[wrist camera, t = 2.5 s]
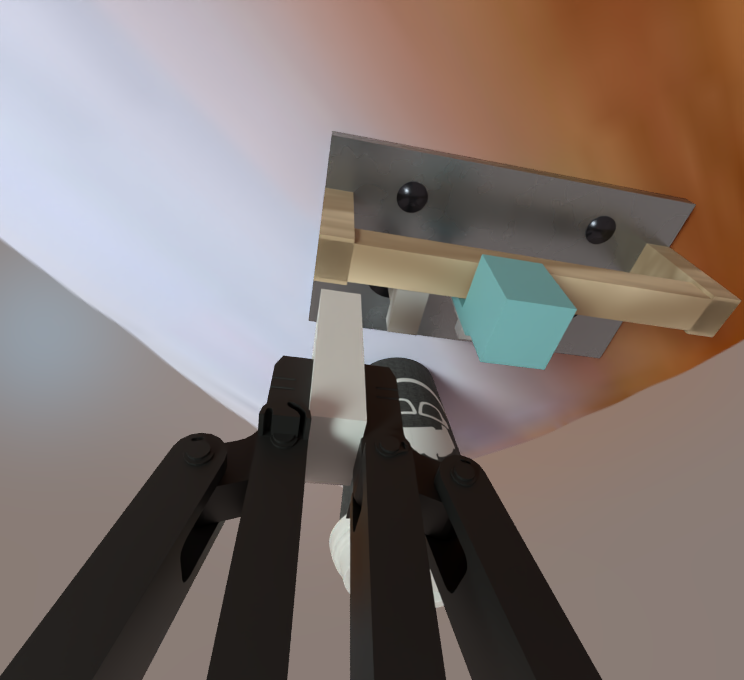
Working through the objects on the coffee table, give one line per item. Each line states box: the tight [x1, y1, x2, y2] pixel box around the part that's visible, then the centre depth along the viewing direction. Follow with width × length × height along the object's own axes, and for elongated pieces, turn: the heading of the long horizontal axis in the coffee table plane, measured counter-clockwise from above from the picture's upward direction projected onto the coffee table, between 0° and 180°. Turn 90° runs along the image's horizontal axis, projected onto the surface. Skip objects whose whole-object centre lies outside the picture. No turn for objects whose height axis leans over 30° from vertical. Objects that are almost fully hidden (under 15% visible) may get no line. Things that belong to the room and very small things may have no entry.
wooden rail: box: [314, 188, 741, 337], centre depth 26 cm, size 5×22×6 cm, turn 79°
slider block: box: [450, 254, 577, 370], centre depth 23 cm, size 6×3×10 cm, turn 169°
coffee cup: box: [329, 358, 460, 608], centre depth 30 cm, size 10×10×15 cm
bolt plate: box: [309, 131, 696, 358], centre depth 29 cm, size 12×22×1 cm, turn 79°
